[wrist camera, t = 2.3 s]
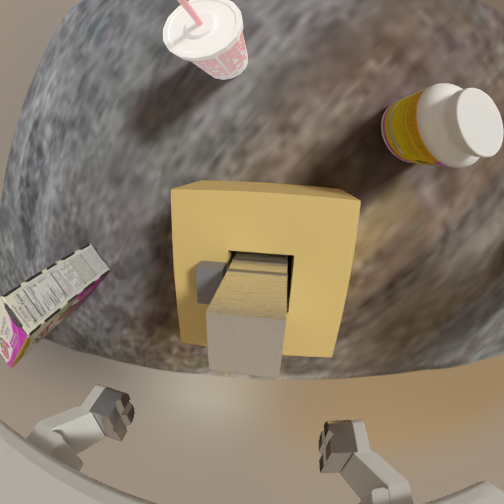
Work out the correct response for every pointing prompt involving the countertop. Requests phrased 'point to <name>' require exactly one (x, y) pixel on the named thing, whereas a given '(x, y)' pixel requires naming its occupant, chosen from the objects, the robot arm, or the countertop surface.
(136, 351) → the countertop surface
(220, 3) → the beverage cup
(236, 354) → the column
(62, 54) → the countertop surface
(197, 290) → the housing
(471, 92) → the supplement bottle
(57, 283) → the candy bar box
